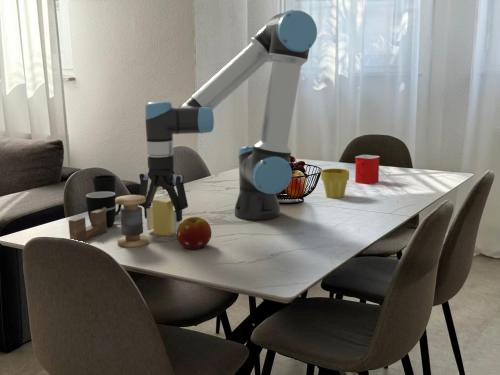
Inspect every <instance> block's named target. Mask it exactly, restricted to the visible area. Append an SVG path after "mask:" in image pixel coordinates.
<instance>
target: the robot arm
mask: <svg viewBox="0 0 500 375" xmlns="http://www.w3.org/2000/svg"><path fill="white" fill-rule="evenodd" d="M317 35H318V28H317V23H316V22H315V20H314V18H313V17H312V16H311V15H310V14H309V13H307V12H306V11H303V10H295V9H294V10H293V9H291V10H287V11H285V12H282V13H279V14H276V15H274V16H273V17H271V18H270V19H269V20H268V21H267V22H266V23H265V24H264V26H263V27H261V28H260V29H259V31H258V32H257V33H255V34H254V35H253V36H252V37H251V38H250V44H248V45H247V46H246V47H245V48H244V49H243V50H241V51H240V52H239V53H238V54H237V55H236V56H235V57H234V58H233V59H231V60H230V61H229V62H228V63H227V64H226V65H225V66H224V67H223V68H222V69H220V70H219V71H218V72H216V74H214V76H213V77H211V78H210V79H209V80H208V81H207V82H206V83H205V84H204V85H202V87H200V88H199V89H198V90H197V91H196V92H195V93H194V94H192V95H191V96H190V98H188V99H187V100H185V102H184V103H182V104H179V105H178V106H177V107H173V106H172V102H170V101H165V100H164V101H158V100H157V101H156V100H155V101H149V102H147V103H146V104H145V134H146V154H147V155H148V156H147V168H148V172H143V173H140V174H139V175H138V176H139V181H140V182H139V183H140V184H139V189H138V190H139V192H138V195H141V196H145V197H146V202H144V203H142V204H138V207H141V208H143V211H144V212H143V213H144V218H145V219H146V229H147V231H151V230H153V210H152V201H154V198H155V195H156V193H157V190H158V189H159V188H164V190H165V191H166V192H167V194H168V197H169V198H170V199H169V200H171V201H172V204H173V228H174V233H173V234H177V229H178V227H179V225H180V223H181V222H182V221H183V210H185V209H187V208H189V204H188V199H187V194H186V189H185V184H184V180H185V176H184V175H183V174H181V175H180V174H179V175H178V174H176V173H175V172H174V168H175V160H174V159H175V157H174V156H173V154H174V137H173V135H181V134H183V135H184V134H185V135H186V134H187V135H188V134H200V135H201V134H207V133H208V134H209V133H211V132H213V131H214V125H215V120H214V110H215V109H216V107H218V106H219V105H220V104H221V103H222V102H224V100H226V99H227V98H228V97H229V96H230V95H231V94H232V93H233V92H234V91H235V90H237V89H238V88H239V87H240V86H241V85H242V84H244V83H245V82H246V81H247V80H248V79H249V78H250V77H251V76H252V75H253V74H255V73H256V71H258V70H260V68H261V67H263V66H264V65H265V64H266V63H271V62H272V64H271V70H270V71H271V72H270V75H269V76H270V77H269V82H268V88H267V94H266V99H265V106H264V112H263V117H262V123H261V128H260V130H261V131H260V135H259V140H258V141H257V142H256V143H254V144H253V145H250V146H249V145H248V146H241V147H240V148H239V150H238V156H237V157H238V174H239V175H238V176H239V177H238V178H239V179H238V180H239V181H238V182H239V185H238V186H239V192H238V193H239V194H238V195H237V199H236V203H235V204H234V205H235V206H234V216H235V217H237V218H239V219H244V220H252V221H253V220H255V221H256V220H257V221H258V220H269V219H270V220H271V219H276V218H277V217H279V216H280V215H281V206H280V204H279V200H278V197H277V194H279V193H281V192H283V191H284V190H285V189H287V187H288V186H289V185H290V184H291V181H292V178H293V176H292V175H293V171H292V167H291V165H290V162H291V156H292V150H291V148H289V145H288V144H289V138H290V132H291V126H292V121H293V120H292V119H293V116H294V115H293V114H294V108H295V104H296V99H297V92H298V88H299V87H298V85H299V80H300V77H301V76H300V74H301V70H302V66H303V65H304V64H305V63H307V62H308V59H309V55H310V54H309V53H310V49H311V48H312V47H313V45H314V43H315V42H316V41H317V37H318V36H317ZM149 180H150V184H149ZM173 181H174V182H175V185H174V182H173ZM148 185H149V186H148Z"/></svg>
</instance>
